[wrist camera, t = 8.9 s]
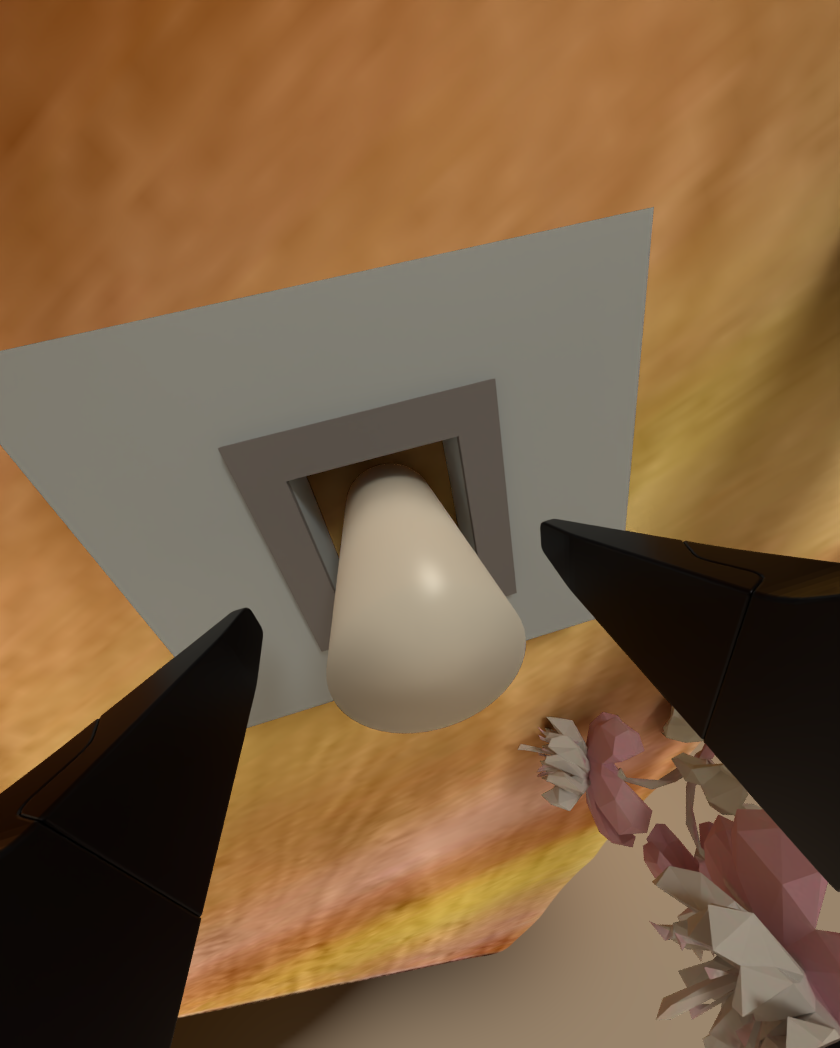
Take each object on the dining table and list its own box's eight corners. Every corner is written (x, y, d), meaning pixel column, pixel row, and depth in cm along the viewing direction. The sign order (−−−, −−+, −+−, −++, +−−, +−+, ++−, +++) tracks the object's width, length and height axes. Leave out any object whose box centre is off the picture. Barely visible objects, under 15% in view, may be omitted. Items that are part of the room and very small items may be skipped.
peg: (422, 453, 13) (518, 555, 5) (440, 532, 15) (531, 698, 7) (333, 476, 13) (291, 621, 5) (361, 554, 15) (362, 754, 7)
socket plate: (595, 242, 11) (662, 201, 9) (586, 583, 18) (622, 615, 16) (30, 370, 10) (-81, 364, 8) (252, 685, 17) (233, 737, 14)
